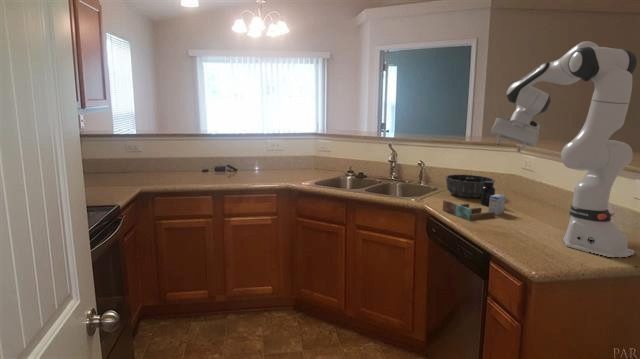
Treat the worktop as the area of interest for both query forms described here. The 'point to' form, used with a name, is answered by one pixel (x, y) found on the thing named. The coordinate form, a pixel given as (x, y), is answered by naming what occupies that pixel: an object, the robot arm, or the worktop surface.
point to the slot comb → (465, 211)
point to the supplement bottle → (487, 192)
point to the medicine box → (497, 204)
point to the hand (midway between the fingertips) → (508, 147)
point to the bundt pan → (466, 185)
